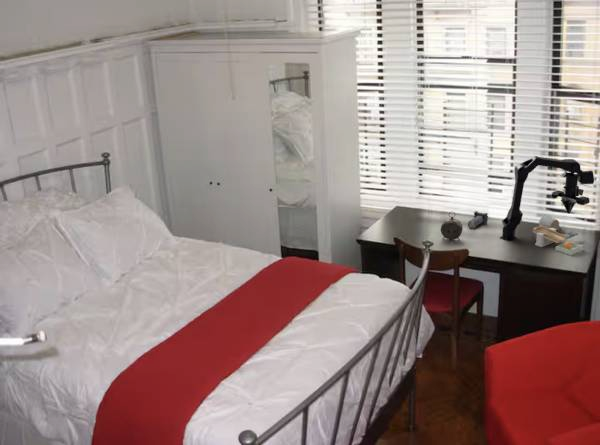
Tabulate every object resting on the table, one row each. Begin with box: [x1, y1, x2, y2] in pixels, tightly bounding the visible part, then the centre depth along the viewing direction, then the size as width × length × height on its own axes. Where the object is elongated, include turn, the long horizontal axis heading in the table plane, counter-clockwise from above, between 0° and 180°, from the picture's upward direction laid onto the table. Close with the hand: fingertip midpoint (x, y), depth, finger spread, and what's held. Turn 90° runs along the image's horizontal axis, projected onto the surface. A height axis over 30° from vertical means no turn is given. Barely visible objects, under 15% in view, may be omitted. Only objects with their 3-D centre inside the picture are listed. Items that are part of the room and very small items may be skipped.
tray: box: [554, 240, 584, 257], centre depth 347 cm, size 10×9×3 cm
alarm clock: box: [440, 211, 464, 242], centre depth 365 cm, size 11×5×16 cm, turn 71°
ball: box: [564, 240, 573, 249], centre depth 348 cm, size 4×4×4 cm
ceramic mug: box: [538, 214, 561, 231], centre depth 374 cm, size 11×8×8 cm
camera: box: [467, 210, 489, 229], centre depth 385 cm, size 9×8×12 cm
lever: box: [531, 225, 579, 244], centre depth 359 cm, size 18×15×5 cm
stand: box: [534, 228, 557, 248], centre depth 357 cm, size 12×4×6 cm, turn 126°
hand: (568, 213), depth 360 cm, fingers closed
